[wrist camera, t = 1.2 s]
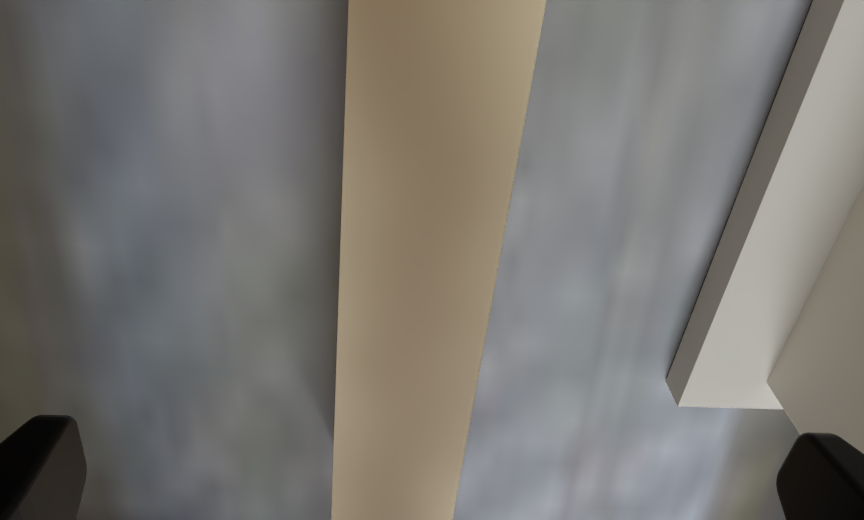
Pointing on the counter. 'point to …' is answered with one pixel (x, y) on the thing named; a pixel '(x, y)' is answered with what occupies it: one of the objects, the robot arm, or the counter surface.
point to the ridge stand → (793, 251)
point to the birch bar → (421, 239)
